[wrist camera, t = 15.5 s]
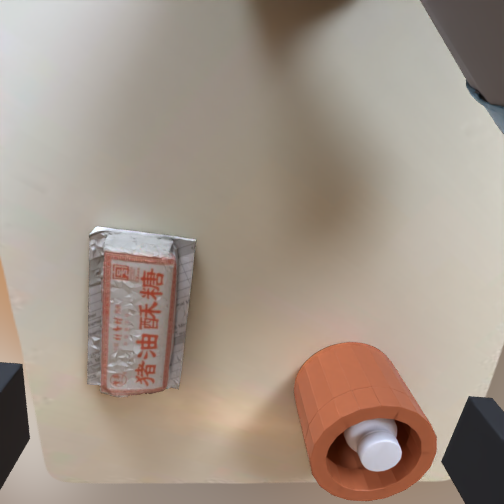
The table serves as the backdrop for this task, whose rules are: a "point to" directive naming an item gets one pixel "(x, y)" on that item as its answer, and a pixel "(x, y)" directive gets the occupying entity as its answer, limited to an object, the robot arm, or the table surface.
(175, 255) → the packaged product
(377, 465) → the supplement bottle
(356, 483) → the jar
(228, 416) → the table surface
